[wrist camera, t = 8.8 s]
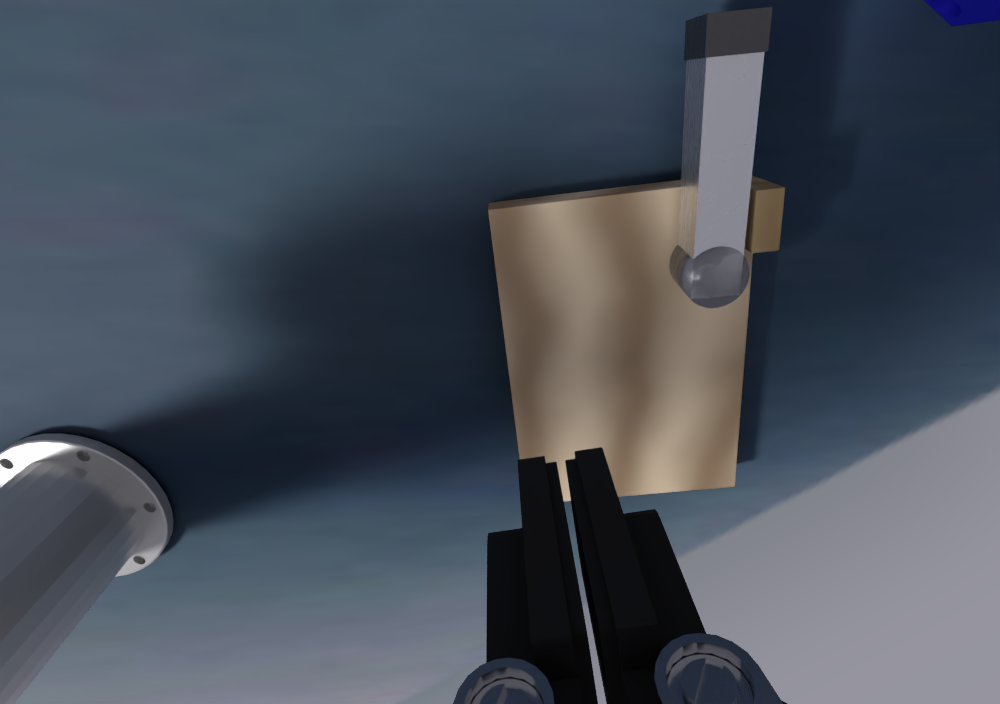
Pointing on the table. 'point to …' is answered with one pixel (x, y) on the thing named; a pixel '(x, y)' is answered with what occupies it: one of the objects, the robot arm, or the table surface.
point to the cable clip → (966, 10)
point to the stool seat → (622, 335)
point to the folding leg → (718, 152)
